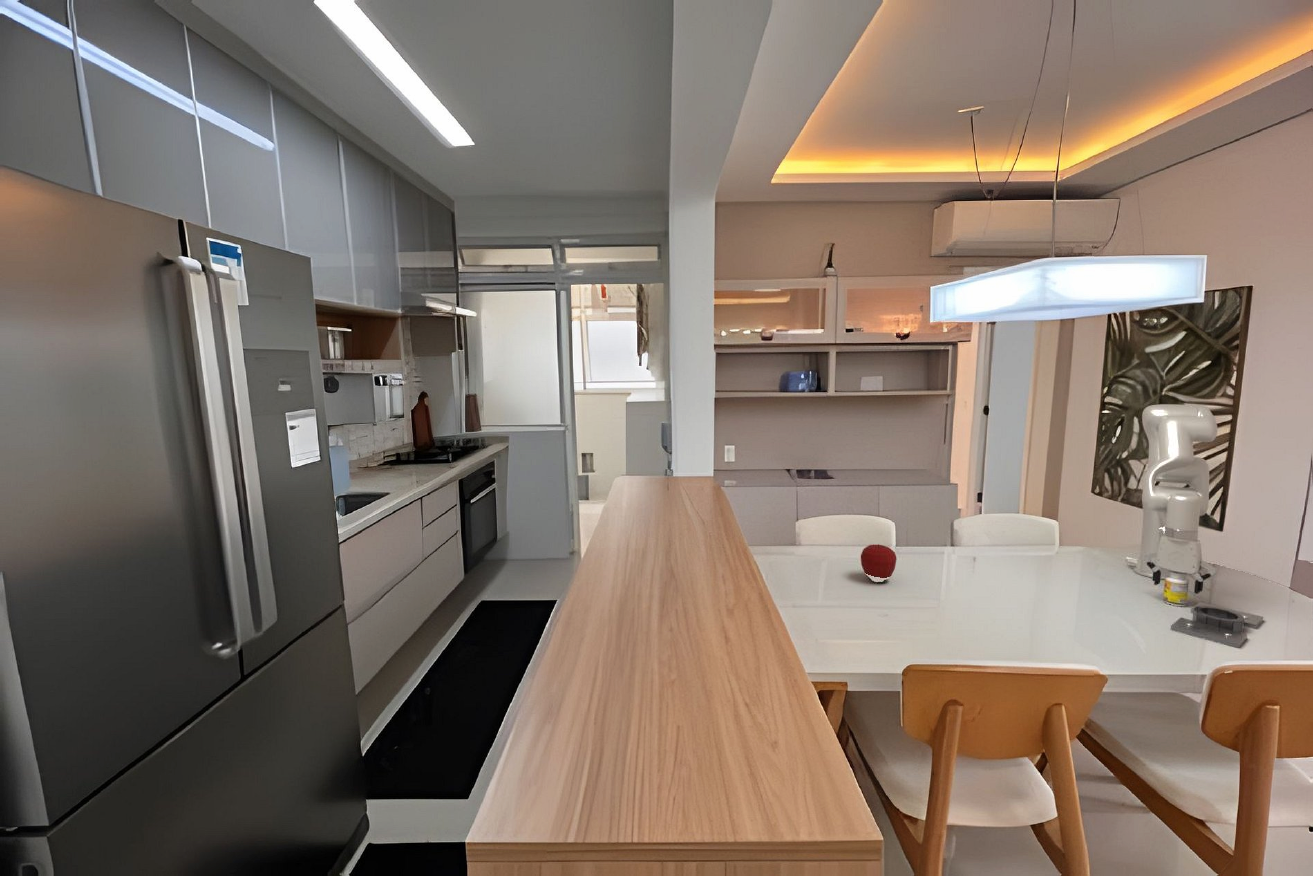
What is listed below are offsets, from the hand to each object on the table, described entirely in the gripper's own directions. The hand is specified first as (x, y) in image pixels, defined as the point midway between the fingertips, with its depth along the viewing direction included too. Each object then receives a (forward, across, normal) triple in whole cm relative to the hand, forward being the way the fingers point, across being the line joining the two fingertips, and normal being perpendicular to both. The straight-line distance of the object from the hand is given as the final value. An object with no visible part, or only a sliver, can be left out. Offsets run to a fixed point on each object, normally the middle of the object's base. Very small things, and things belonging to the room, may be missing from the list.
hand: (1176, 588), depth 186 cm
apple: (+6, -68, -54) cm, 87 cm away
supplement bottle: (+5, 0, +1) cm, 5 cm away
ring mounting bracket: (+6, +12, -9) cm, 16 cm away
